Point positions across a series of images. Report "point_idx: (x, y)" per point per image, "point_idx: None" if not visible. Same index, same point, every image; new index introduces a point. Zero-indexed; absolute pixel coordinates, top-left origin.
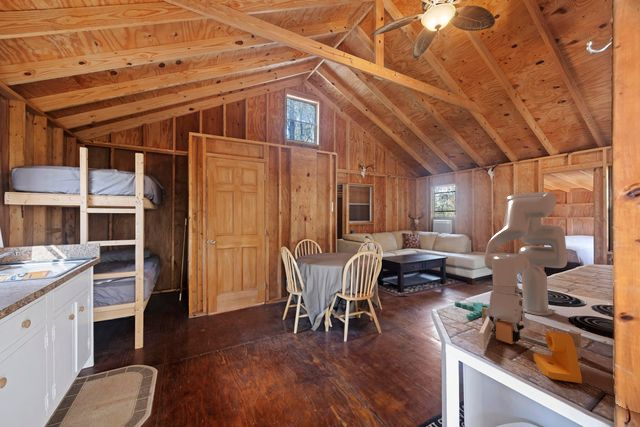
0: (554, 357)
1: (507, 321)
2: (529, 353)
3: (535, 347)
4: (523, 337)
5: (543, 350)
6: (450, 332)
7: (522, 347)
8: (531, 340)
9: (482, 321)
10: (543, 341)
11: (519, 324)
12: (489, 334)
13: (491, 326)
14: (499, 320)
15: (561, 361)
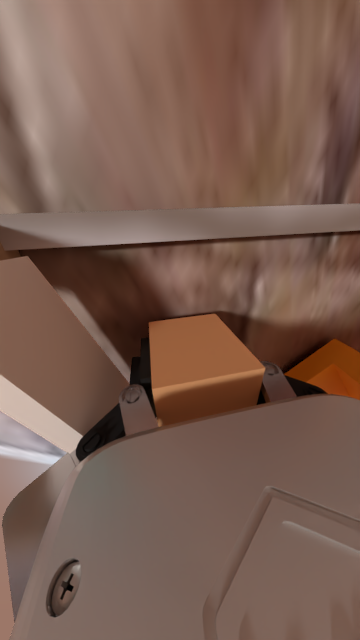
0: (339, 373)
1: (198, 384)
2: (257, 345)
3: (265, 281)
4: (215, 238)
5: (290, 282)
6: (18, 439)
7: (232, 325)
8: (249, 236)
9: None
10: (301, 206)
11: (291, 394)
12: (126, 383)
13: (74, 335)
14: (152, 415)
15: (356, 397)
